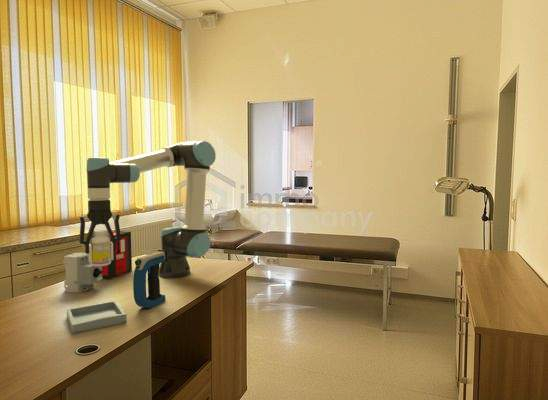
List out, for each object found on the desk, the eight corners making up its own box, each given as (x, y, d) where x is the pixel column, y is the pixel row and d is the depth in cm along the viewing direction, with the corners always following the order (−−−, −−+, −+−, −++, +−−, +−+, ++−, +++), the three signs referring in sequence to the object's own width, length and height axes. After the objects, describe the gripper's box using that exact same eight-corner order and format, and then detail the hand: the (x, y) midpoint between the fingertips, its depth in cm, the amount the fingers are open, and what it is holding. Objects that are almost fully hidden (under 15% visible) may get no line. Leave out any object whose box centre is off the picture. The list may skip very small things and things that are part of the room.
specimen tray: (116, 308, 139) (115, 300, 139) (126, 322, 126) (126, 313, 125) (66, 317, 130) (66, 309, 130) (72, 334, 117) (72, 325, 116)
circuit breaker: (94, 293, 155) (93, 258, 154) (64, 291, 158) (63, 256, 157) (106, 288, 162) (104, 254, 161) (77, 286, 165) (75, 252, 164)
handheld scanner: (170, 298, 149) (168, 249, 148) (143, 313, 134) (141, 258, 132) (160, 297, 150) (158, 249, 149) (133, 311, 135) (130, 258, 134)
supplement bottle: (95, 262, 144) (94, 229, 143) (113, 262, 144) (112, 229, 143) (88, 267, 137) (87, 232, 136) (107, 266, 138) (106, 232, 137)
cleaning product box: (109, 279, 175) (108, 237, 173) (93, 278, 177) (92, 236, 175) (131, 270, 190) (130, 231, 189) (117, 269, 193) (115, 231, 191)
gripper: (124, 197, 147) (126, 255, 149) (68, 199, 136) (70, 262, 138) (129, 199, 141) (130, 259, 143) (70, 201, 130) (72, 266, 132)
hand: (101, 260), depth 140 cm, fingers closed on supplement bottle, 7 cm apart
